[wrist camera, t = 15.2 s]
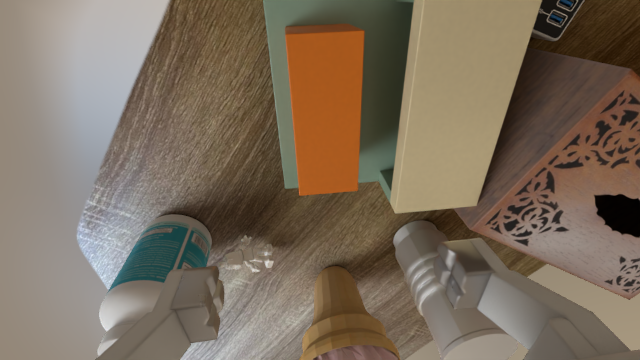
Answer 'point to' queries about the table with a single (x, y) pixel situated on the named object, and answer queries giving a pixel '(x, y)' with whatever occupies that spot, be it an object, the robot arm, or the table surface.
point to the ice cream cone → (344, 323)
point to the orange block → (326, 104)
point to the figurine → (248, 257)
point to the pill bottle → (151, 271)
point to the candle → (446, 301)
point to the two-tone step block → (417, 89)
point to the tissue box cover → (568, 171)
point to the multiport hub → (554, 18)
